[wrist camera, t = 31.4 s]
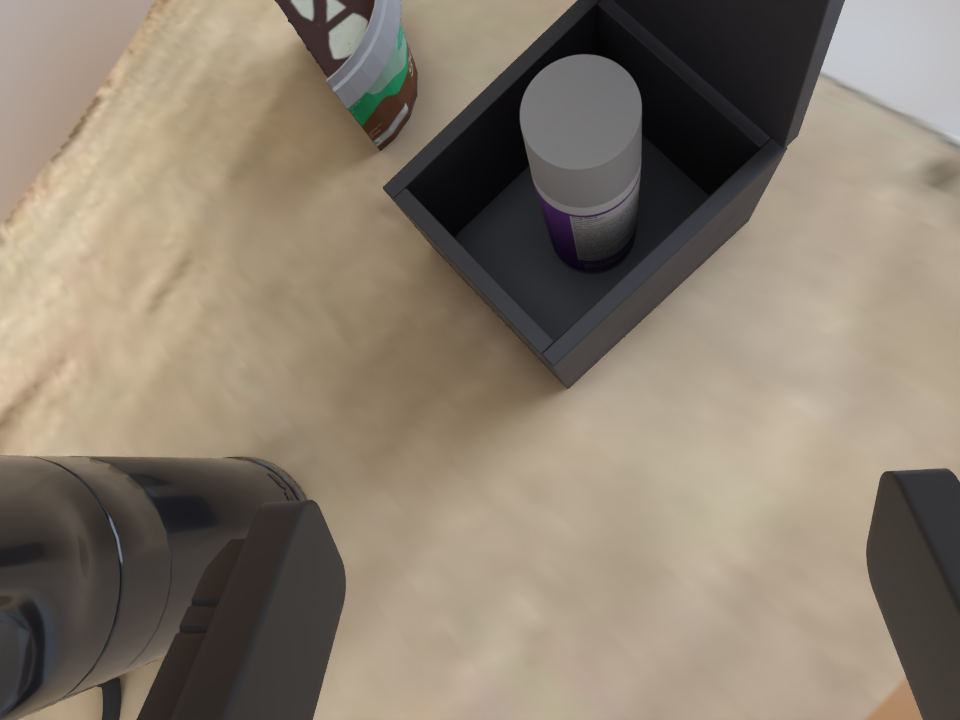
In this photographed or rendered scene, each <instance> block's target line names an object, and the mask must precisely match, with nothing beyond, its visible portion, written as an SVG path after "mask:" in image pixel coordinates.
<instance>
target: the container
mask: <svg viewBox="0 0 960 720" xmlns="http://www.w3.org/2000/svg"><path fill="white" fill-rule="evenodd" d="M520 125H521V130H522V134H523V139H524V143H525V147H526V152H527V156H528V161H529V165H530V170H531V175H532V179H533V183H534V186H535V189H536V193H537V196H538V199H539V203H540V206H541V209H542V212H543V216H544V219H545V222H546V226H547V229H548V232H549V236H550V239H551V242H552V245H553V248H554V250H555V252H556V254H557V256H558V257H559V258H560V260H561V261H562V262H563V263H564V264H565V265H567V266H568V267H570V268H571V269H573V270H575V271H578V272H581V273H587V274H597V273H603V272H606V271H609V270H611V269H613V268H615V267H616V266H618V265H619V264H620V263H621V262H623V261H624V259H625V258H626V257H627V256H628V254H629V253H630V251H631V249H632V247H633V244H634V240H635V235H636V224H637V212H638V200H639V188H640V176H641V162H642V158H641V148H642V101H641V96H640V92H639V89H638V87H637V85H636V83H635V81H634V79H633V78H632V77H631V75H630V74H629V73H628V72H627V71H626V70H625V69H624V68H623V67H622V66H620V65H619V64H617V63H616V62H614V61H612V60H610V59H607V58H605V57H602V56H597V55H589V54H581V55H573V56H568V57H565V58H562V59H559V60H557V61H555V62H553V63H551V64H550V65H548V66H547V67H545V68H544V69H543V70H542V71H540V72H539V73H538V74H537V75H536V76H535V78H534V79H533V80H532V81H531V83H530V84H529V86H528V87H527V89H526V91H525V93H524V96H523V99H522V102H521V107H520Z"/></svg>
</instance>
